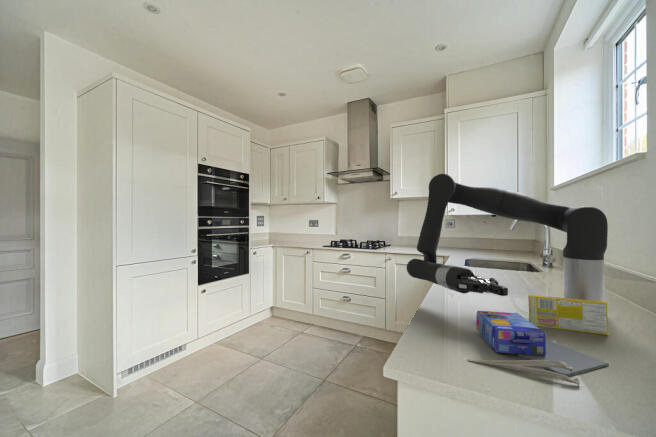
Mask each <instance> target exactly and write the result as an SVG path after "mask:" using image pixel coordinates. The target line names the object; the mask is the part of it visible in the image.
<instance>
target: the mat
mask: <svg viewBox="0 0 656 437" xmlns="http://www.w3.org/2000/svg"><path fill="white" fill-rule="evenodd" d="M514 355H516V356H518V357H521V358H522V359H524V360H548V361H559V362H565V363H566V364H568V365H569V366H571V367H572V368H573V370H572V371H573V372H571V371H569V370H567V369H564V368H558V367H542V366H540V367H541V368H543V369H546V371H550V372H554V373H559V374H562V375H566V376H568V377H572V376H575V374H576V375H578V374H583V373H587V372H591V371H593V370H598V369H600V367H602V368H604V366H605V367H609V362H606V361H604V360H602V359H600V358H596V357H594V356H592V355H589V354H586V353H583V352H581V351H578V350H575V349H572V348H571V347H568V346H566V345H562V344H560V343H557V342H555V341H552V340H550V339H547V338H546V355H545V356H538V355H527V354H517V353H514ZM551 364H555V363H553V362H551ZM597 368H598V369H597ZM586 371H587V372H586ZM582 372H583V373H582ZM571 375H572V376H571Z"/></svg>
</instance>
